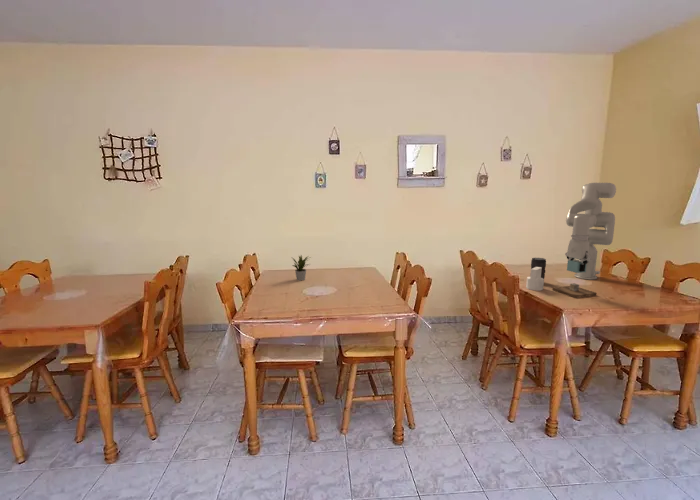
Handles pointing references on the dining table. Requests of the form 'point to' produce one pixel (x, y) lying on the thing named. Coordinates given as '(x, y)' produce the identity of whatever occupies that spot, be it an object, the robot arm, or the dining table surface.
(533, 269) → the light grey stepped block
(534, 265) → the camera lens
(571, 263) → the teal tissue box
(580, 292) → the shaft block
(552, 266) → the dining table surface
